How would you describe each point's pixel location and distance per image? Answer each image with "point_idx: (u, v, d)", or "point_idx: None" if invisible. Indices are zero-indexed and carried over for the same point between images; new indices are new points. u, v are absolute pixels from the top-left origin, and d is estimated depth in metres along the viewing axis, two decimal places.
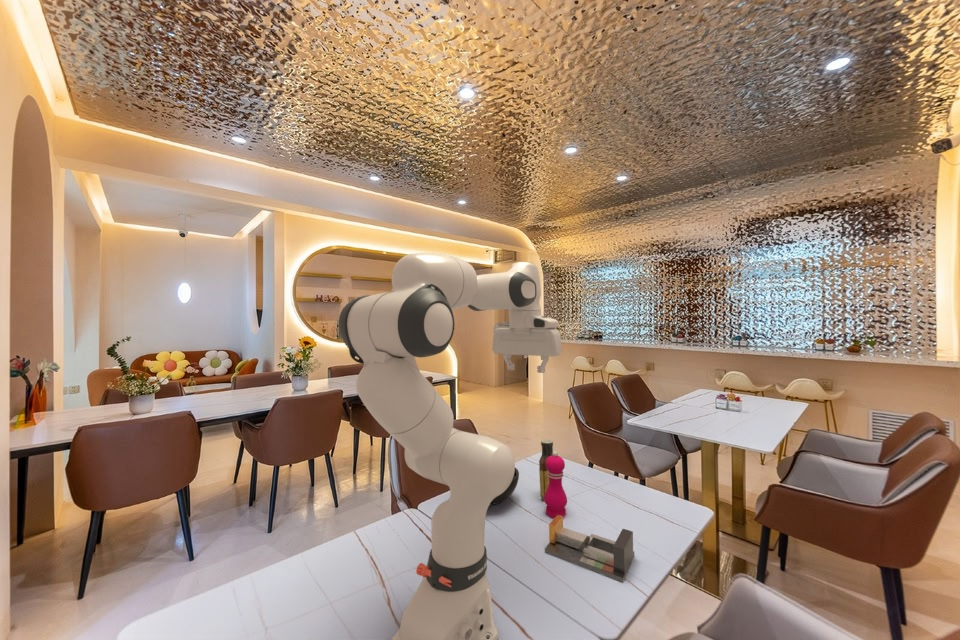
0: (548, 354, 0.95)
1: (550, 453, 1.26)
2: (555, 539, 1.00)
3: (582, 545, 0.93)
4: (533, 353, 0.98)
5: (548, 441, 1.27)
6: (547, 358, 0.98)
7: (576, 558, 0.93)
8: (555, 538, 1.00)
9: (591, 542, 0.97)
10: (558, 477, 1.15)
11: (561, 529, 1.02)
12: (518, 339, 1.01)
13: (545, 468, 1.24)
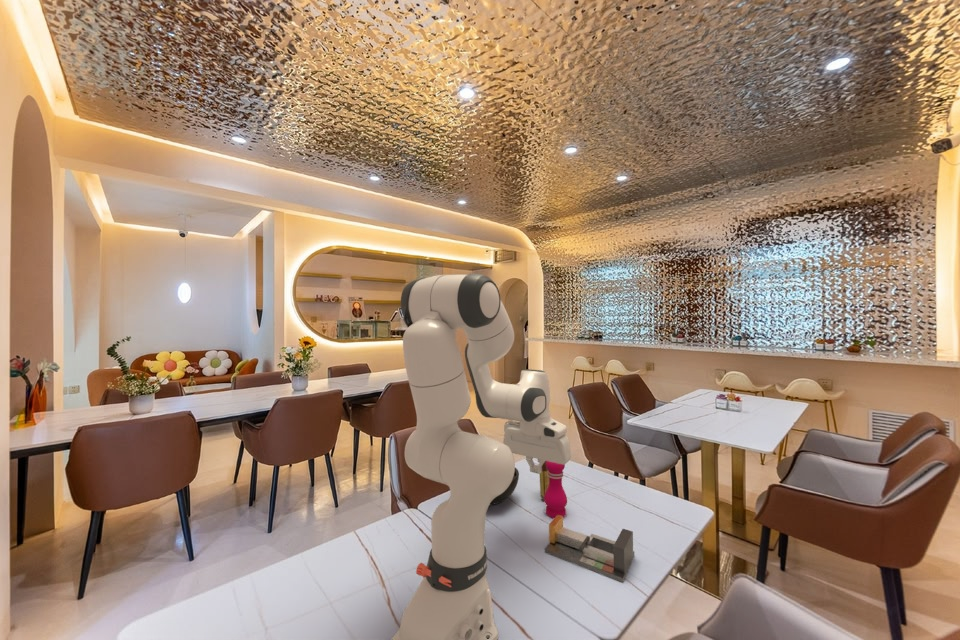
0: (558, 462, 1.00)
1: None
2: (555, 539, 1.00)
3: (582, 545, 0.93)
4: (543, 458, 1.02)
5: None
6: (544, 460, 1.04)
7: (576, 558, 0.93)
8: (555, 538, 1.00)
9: (591, 542, 0.97)
10: (558, 477, 1.15)
11: (561, 529, 1.02)
12: (528, 442, 1.05)
13: (545, 469, 1.24)
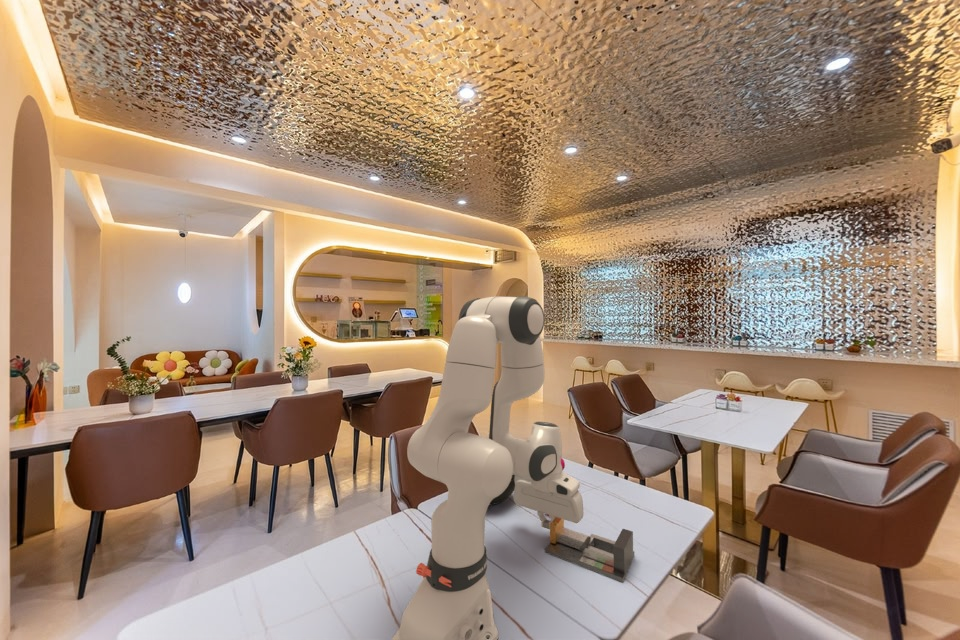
0: (571, 520, 0.98)
1: None
2: (556, 539, 0.99)
3: (583, 545, 0.93)
4: (555, 514, 1.00)
5: None
6: None
7: (576, 558, 0.93)
8: (556, 538, 0.99)
9: (592, 542, 0.97)
10: None
11: (562, 529, 1.01)
12: (540, 497, 1.03)
13: None
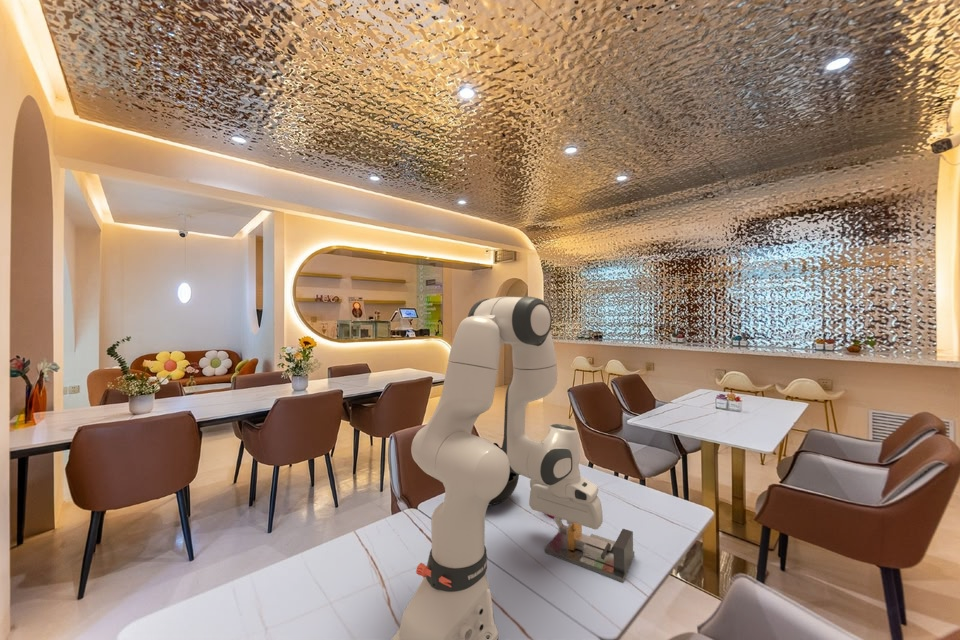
0: (590, 526, 0.95)
1: None
2: (574, 546, 0.96)
3: (604, 553, 0.90)
4: (573, 520, 0.97)
5: None
6: None
7: (576, 558, 0.93)
8: (574, 545, 0.96)
9: (612, 549, 0.94)
10: None
11: (580, 535, 0.98)
12: (557, 502, 1.00)
13: None
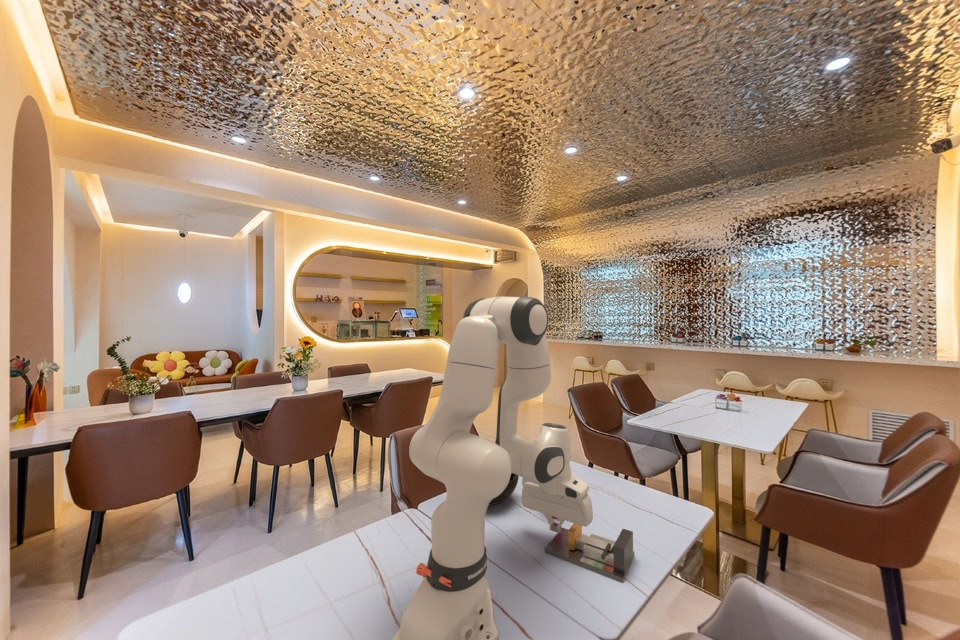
0: (580, 523, 0.96)
1: None
2: (574, 546, 0.96)
3: (604, 553, 0.90)
4: (564, 518, 0.99)
5: None
6: None
7: (576, 558, 0.93)
8: (574, 545, 0.96)
9: (612, 549, 0.94)
10: None
11: (580, 535, 0.98)
12: (548, 499, 1.02)
13: None
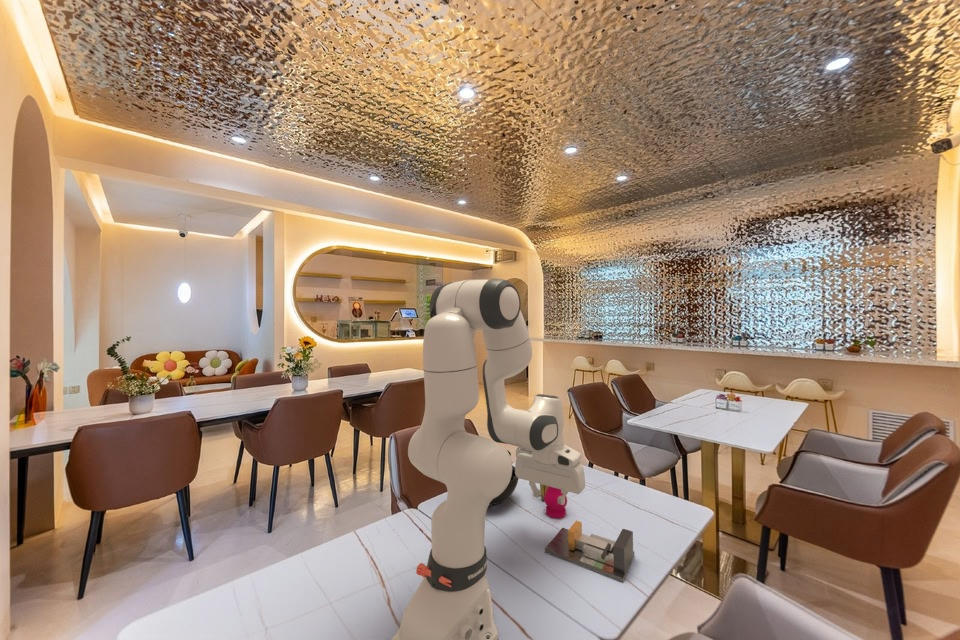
0: (572, 491, 0.97)
1: None
2: (574, 546, 0.96)
3: (604, 553, 0.90)
4: (557, 486, 1.00)
5: None
6: (567, 491, 1.00)
7: (576, 558, 0.93)
8: (574, 545, 0.96)
9: (612, 549, 0.94)
10: None
11: (580, 535, 0.98)
12: (541, 469, 1.03)
13: None
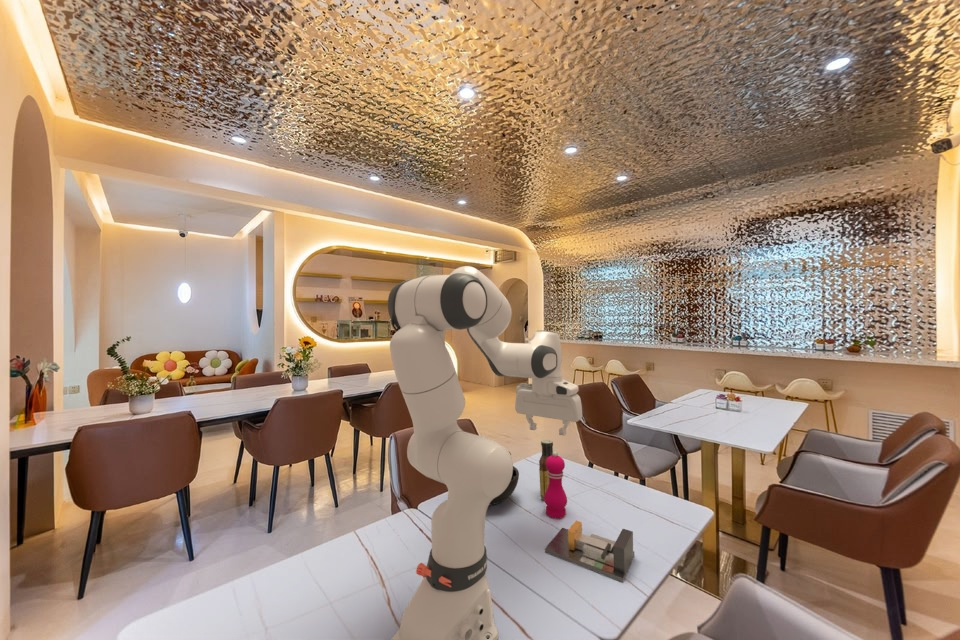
0: (570, 419, 1.02)
1: (550, 453, 1.26)
2: (574, 546, 0.96)
3: (604, 553, 0.90)
4: (555, 416, 1.04)
5: (548, 441, 1.27)
6: (568, 422, 1.04)
7: (576, 558, 0.93)
8: (574, 545, 0.96)
9: (612, 549, 0.94)
10: (558, 477, 1.15)
11: (580, 535, 0.98)
12: (540, 402, 1.07)
13: (545, 469, 1.24)
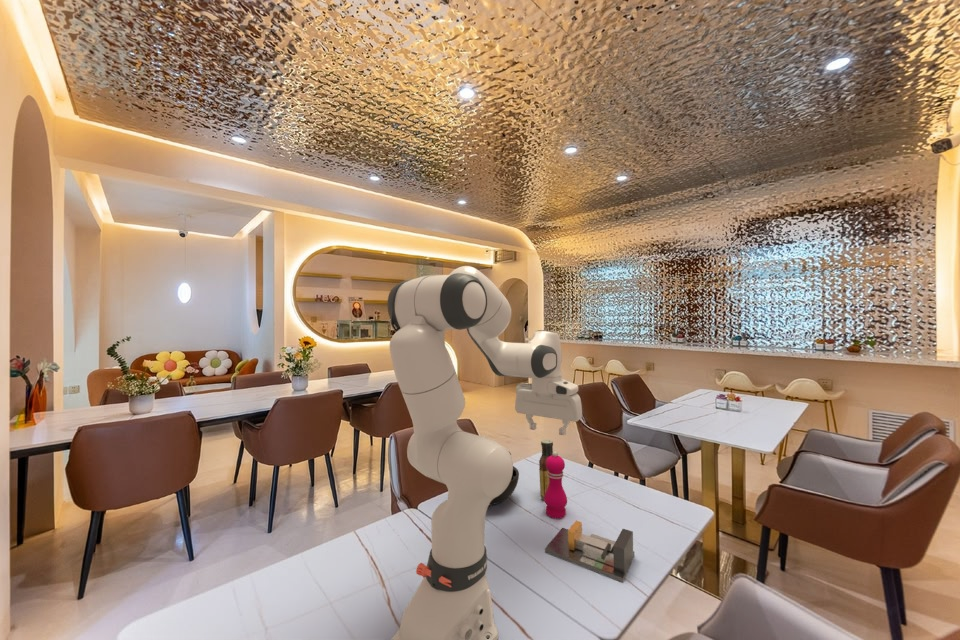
0: (570, 419, 1.02)
1: (550, 453, 1.26)
2: (574, 546, 0.96)
3: (604, 553, 0.90)
4: (555, 416, 1.04)
5: (548, 441, 1.27)
6: (568, 421, 1.04)
7: (576, 558, 0.93)
8: (574, 545, 0.96)
9: (612, 549, 0.94)
10: (558, 477, 1.15)
11: (580, 535, 0.98)
12: (540, 402, 1.07)
13: (545, 469, 1.24)
